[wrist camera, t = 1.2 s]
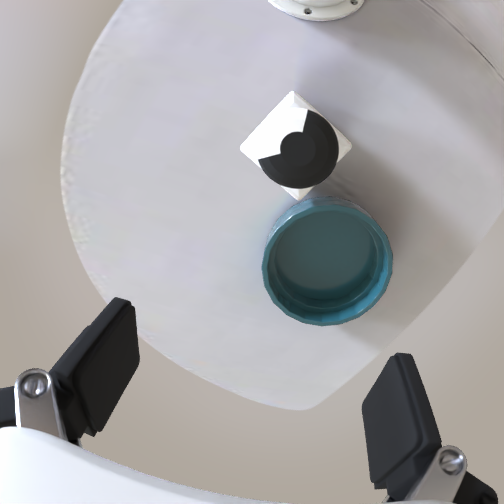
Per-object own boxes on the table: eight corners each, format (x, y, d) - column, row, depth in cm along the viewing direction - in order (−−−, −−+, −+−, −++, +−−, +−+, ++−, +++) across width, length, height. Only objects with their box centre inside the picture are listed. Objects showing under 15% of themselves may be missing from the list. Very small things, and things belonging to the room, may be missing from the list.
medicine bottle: (341, 142, 30) (368, 149, 19) (297, 188, 33) (300, 218, 22) (292, 98, 29) (293, 79, 18) (248, 145, 32) (226, 152, 21)
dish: (277, 184, 33) (275, 192, 29) (396, 211, 32) (409, 222, 28) (256, 294, 39) (252, 313, 35) (361, 313, 38) (368, 333, 34)
